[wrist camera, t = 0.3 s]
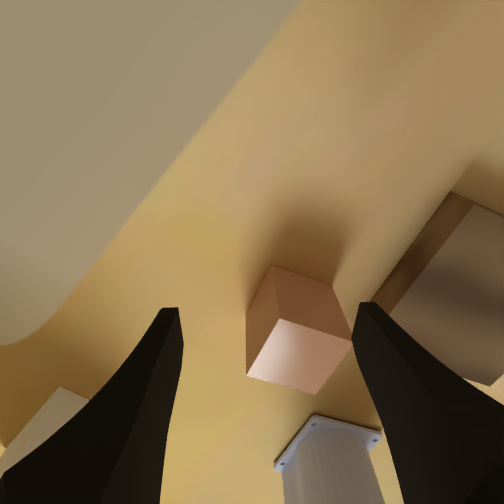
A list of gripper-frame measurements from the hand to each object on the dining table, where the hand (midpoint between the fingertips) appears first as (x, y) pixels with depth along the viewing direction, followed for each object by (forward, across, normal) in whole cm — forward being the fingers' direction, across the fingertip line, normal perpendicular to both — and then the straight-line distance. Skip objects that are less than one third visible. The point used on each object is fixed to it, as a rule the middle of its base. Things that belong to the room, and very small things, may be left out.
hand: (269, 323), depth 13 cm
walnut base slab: (+9, -16, +7) cm, 20 cm away
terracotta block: (+10, -3, +8) cm, 13 cm away
